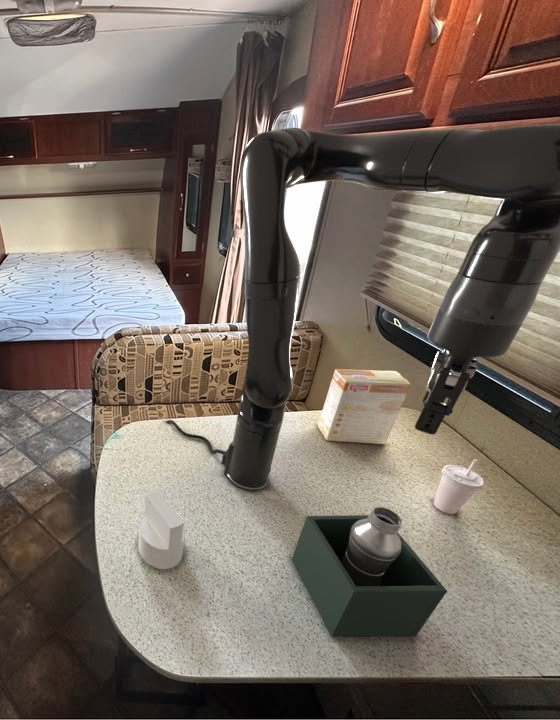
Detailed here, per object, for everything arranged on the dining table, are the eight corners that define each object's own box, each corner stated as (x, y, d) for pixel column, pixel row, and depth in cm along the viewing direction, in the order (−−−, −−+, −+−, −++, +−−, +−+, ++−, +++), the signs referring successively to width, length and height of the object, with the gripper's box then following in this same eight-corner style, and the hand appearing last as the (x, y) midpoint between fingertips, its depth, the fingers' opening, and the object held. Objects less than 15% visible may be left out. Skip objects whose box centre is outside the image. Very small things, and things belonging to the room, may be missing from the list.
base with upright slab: (130, 539, 79) (131, 499, 73) (165, 523, 82) (169, 484, 76) (154, 576, 71) (157, 535, 66) (192, 558, 74) (198, 517, 69)
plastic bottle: (374, 619, 63) (418, 542, 53) (327, 598, 66) (361, 522, 57) (371, 586, 67) (412, 510, 58) (328, 568, 71) (360, 493, 61)
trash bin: (331, 636, 61) (354, 591, 55) (291, 559, 73) (306, 515, 67) (415, 636, 61) (447, 591, 55) (361, 558, 73) (383, 514, 67)
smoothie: (472, 521, 79) (503, 472, 73) (437, 517, 80) (465, 468, 74) (451, 497, 85) (479, 450, 78) (419, 494, 86) (444, 447, 79)
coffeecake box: (372, 429, 107) (396, 370, 98) (386, 445, 101) (413, 384, 92) (316, 425, 109) (334, 367, 100) (326, 441, 103) (346, 381, 94)
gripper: (527, 338, 39) (459, 454, 47) (522, 303, 48) (465, 406, 56) (434, 321, 44) (386, 429, 52) (445, 292, 53) (403, 388, 60)
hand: (427, 417), depth 54 cm, fingers open, 8 cm apart
